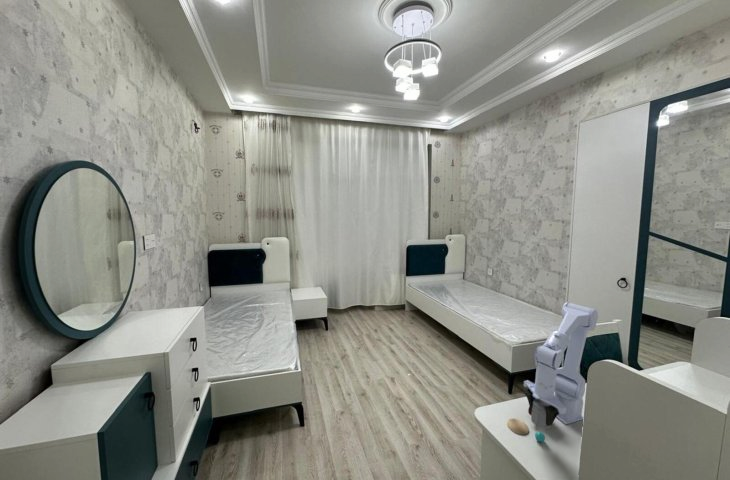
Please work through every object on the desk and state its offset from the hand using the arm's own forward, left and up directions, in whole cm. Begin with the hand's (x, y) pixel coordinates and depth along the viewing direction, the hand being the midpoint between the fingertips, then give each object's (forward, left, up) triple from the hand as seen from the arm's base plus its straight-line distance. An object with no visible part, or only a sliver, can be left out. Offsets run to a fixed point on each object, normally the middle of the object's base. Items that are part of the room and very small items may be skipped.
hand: (541, 417), depth 99 cm
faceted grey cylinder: (0, 0, -2) cm, 2 cm away
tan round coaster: (+2, -7, -9) cm, 11 cm away
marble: (0, 0, -9) cm, 9 cm away
